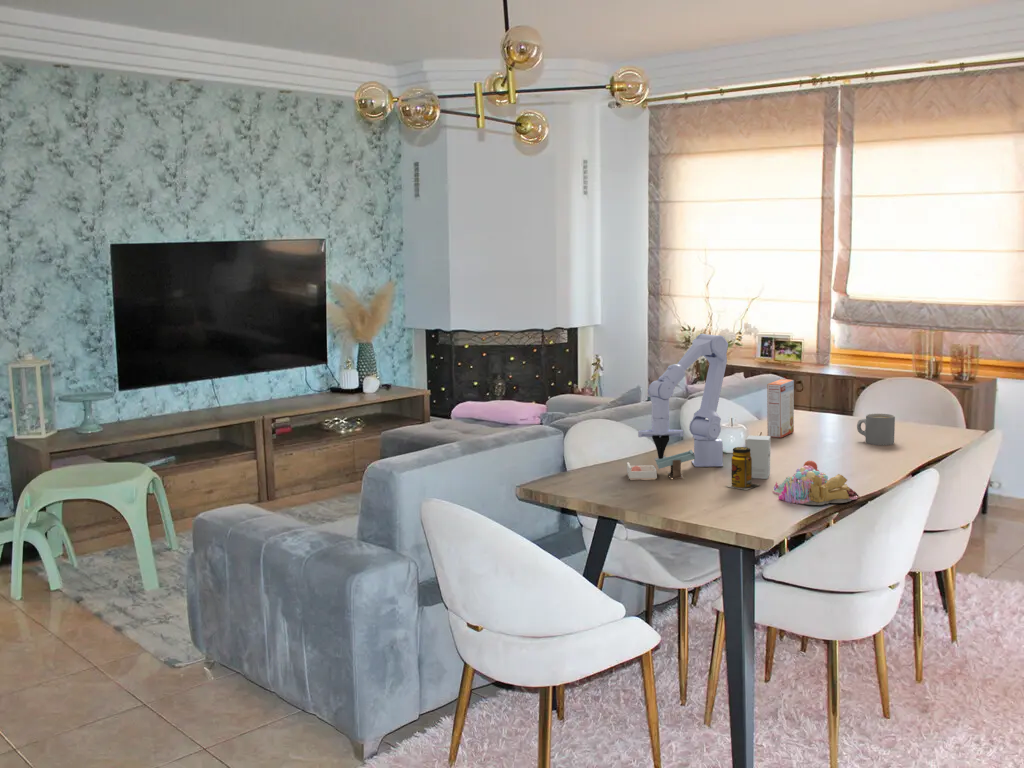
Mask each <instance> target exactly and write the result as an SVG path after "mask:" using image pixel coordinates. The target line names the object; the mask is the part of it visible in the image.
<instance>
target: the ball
mask: <svg viewBox="0 0 1024 768" xmlns="http://www.w3.org/2000/svg"><path fill="white" fill-rule="evenodd" d="M633 466H634V467H633V468H632V470H631V471H641V468H640V467H639V466H640V465H633Z"/></svg>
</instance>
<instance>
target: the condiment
mask: <svg viewBox="0 0 1024 768" xmlns="http://www.w3.org/2000/svg"><path fill="white" fill-rule="evenodd" d="M750 451H751V450H750V448H747V447H745V446H737V447H733V449H732V457H731V469H730V470H731V484H730V485H726V487H727V488H728V487H729V488H733V489H738V490H745V491H747V490H750V489H753V488H755V487H759V486H761V485H762V484H760V483H759V484H758V483H752V481H753V480H752V479H753V478H752V458H751V456H750V455H751V453H750Z"/></svg>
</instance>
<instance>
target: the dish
mask: <svg viewBox="0 0 1024 768" xmlns="http://www.w3.org/2000/svg"><path fill="white" fill-rule="evenodd" d="M634 466H635V465H631V463H630V462H628V461H627V462H626V474H627V473H628V475H627V477H628V476H629V478H658V476H657V473H658V472H657V468H656V467H655V465H638V466H639V467H640V468H641V471H631V470H632V468H633V467H634ZM629 478H628V479H629Z"/></svg>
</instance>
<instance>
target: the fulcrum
mask: <svg viewBox="0 0 1024 768" xmlns="http://www.w3.org/2000/svg"><path fill="white" fill-rule="evenodd" d="M681 467H682V466H681V460H673V465H671V466H670V471H667V475H668V474H669V475H668V477H669V476H670V477H669V479H670V478H673V480H684V478H685V477H684V476H683V474H682V468H681Z"/></svg>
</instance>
